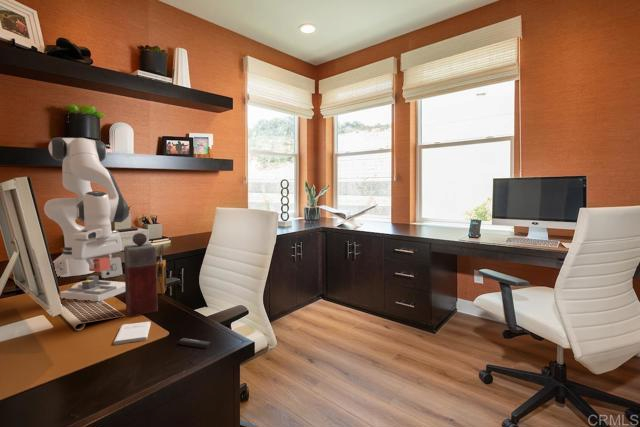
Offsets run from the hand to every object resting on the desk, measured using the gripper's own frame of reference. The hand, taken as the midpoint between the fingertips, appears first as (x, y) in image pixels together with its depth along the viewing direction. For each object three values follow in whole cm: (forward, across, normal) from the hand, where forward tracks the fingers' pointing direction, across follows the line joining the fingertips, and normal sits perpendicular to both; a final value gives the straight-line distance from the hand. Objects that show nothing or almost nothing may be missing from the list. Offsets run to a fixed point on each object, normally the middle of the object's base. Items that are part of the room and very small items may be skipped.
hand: (99, 266), depth 133 cm
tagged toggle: (+10, 0, -6) cm, 11 cm away
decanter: (+13, +8, +26) cm, 30 cm away
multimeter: (+13, -10, +16) cm, 23 cm away
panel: (+12, -4, -5) cm, 14 cm away
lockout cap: (+1, 0, 0) cm, 1 cm away
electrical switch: (+12, -28, -23) cm, 39 cm away
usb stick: (+14, +28, +61) cm, 68 cm away
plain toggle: (+10, -7, -11) cm, 16 cm away
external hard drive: (+14, +26, +39) cm, 48 cm away
